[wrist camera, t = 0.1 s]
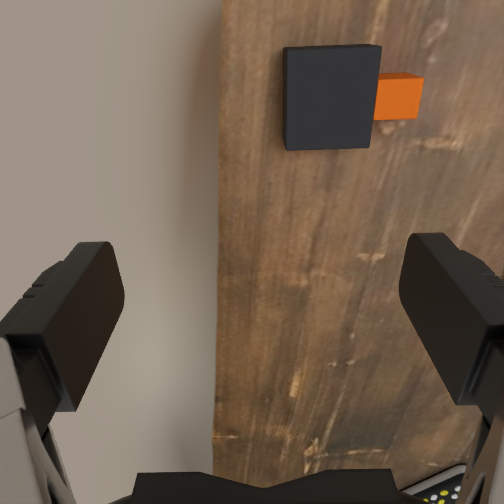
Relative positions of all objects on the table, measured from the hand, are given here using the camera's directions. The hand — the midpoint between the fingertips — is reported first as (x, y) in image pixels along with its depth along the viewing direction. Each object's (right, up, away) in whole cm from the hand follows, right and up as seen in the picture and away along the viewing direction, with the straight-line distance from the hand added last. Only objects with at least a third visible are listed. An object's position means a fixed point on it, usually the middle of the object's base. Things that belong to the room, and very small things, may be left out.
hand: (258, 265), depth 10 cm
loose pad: (+6, +11, +16) cm, 20 cm away
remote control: (+26, -32, +42) cm, 59 cm away
